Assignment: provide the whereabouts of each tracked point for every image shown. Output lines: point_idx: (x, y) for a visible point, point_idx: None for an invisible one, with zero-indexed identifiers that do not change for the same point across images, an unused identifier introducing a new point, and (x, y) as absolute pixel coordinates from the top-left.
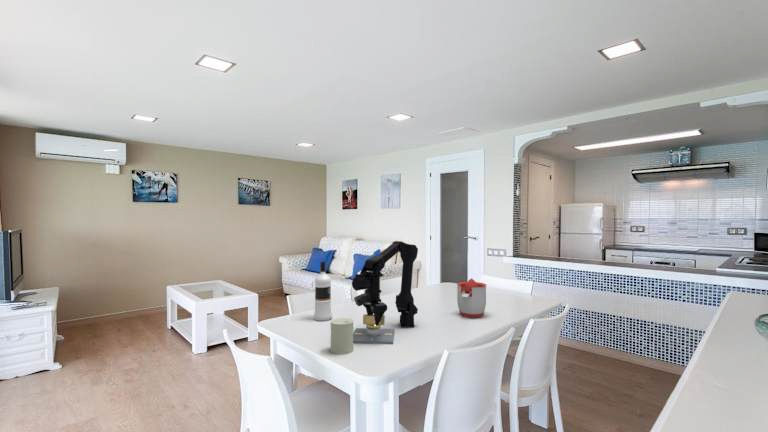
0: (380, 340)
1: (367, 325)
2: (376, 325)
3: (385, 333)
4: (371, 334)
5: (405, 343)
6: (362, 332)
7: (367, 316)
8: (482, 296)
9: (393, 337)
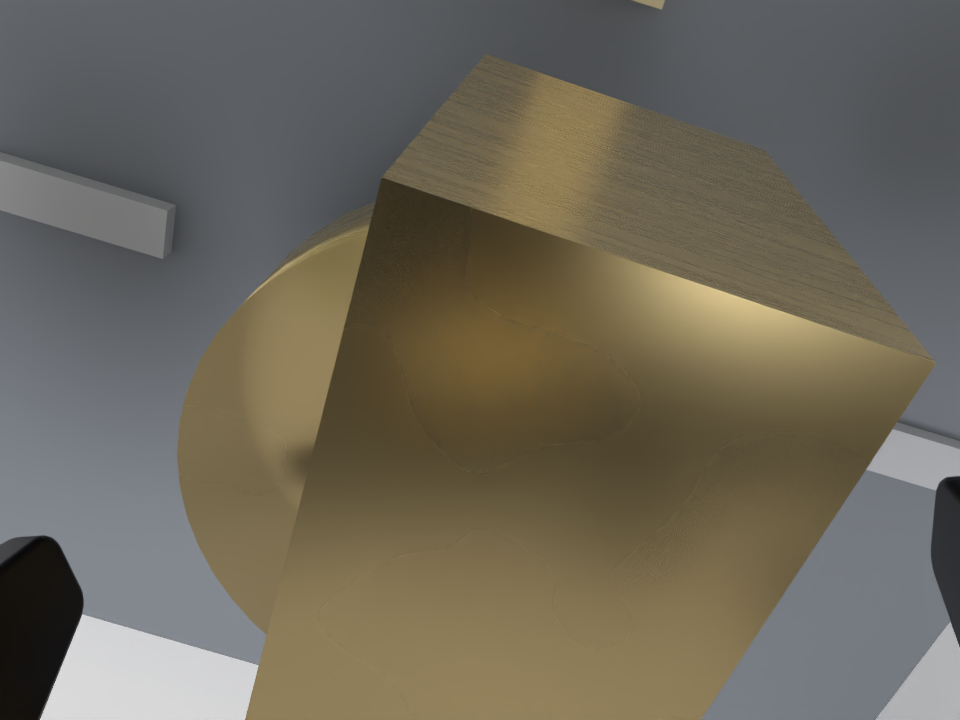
0: (25, 382)
1: (325, 246)
2: (22, 553)
3: None
4: None
5: (47, 716)
6: (813, 35)
7: (311, 506)
8: None
9: (229, 654)
